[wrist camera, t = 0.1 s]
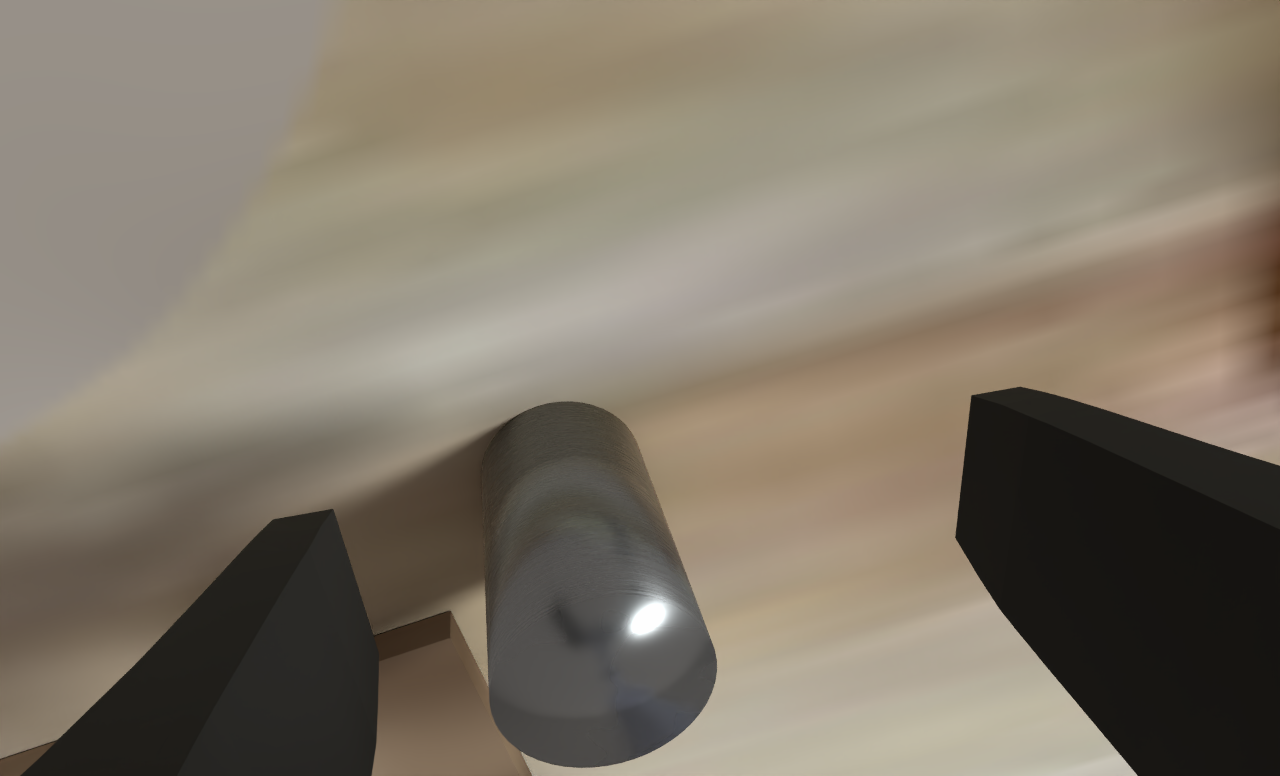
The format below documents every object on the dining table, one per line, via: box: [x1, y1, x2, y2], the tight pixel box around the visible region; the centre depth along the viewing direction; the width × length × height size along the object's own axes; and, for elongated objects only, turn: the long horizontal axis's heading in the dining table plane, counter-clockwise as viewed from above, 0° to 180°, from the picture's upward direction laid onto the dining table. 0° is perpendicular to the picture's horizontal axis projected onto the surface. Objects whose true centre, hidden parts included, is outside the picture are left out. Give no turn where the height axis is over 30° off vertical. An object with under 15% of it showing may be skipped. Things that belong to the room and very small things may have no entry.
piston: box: [481, 402, 717, 768], centre depth 17 cm, size 4×4×7 cm
